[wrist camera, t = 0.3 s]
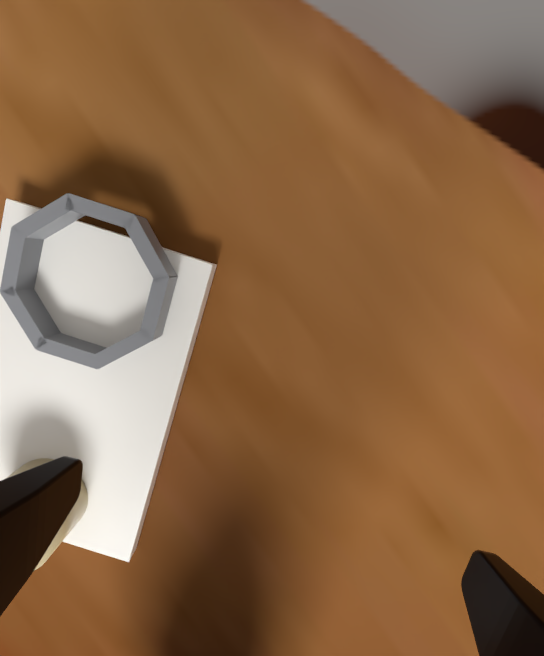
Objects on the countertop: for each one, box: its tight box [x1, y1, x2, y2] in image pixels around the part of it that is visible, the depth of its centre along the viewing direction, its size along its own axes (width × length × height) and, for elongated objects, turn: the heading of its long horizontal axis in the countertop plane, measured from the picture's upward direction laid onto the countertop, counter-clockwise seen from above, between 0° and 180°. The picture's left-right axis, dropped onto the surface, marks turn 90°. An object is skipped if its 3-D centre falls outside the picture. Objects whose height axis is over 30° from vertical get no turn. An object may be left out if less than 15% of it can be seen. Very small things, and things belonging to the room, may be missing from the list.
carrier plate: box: [0, 193, 217, 570], centre depth 21 cm, size 21×12×5 cm, turn 162°
